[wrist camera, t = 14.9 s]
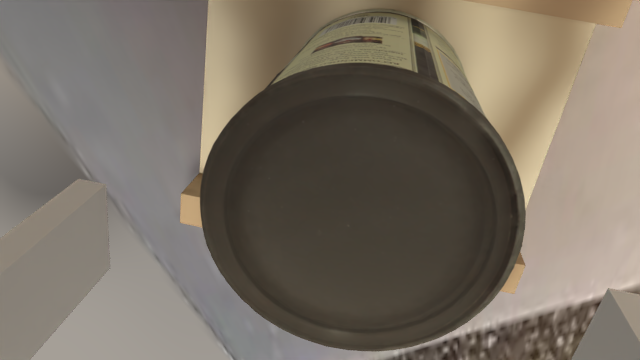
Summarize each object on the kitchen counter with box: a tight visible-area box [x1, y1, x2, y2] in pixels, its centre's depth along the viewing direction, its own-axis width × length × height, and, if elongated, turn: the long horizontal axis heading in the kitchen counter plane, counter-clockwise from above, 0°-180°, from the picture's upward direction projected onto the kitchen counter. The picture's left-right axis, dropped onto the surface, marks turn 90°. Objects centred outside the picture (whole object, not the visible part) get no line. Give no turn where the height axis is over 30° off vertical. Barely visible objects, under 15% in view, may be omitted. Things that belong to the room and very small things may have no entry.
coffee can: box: [200, 9, 526, 351], centre depth 22 cm, size 10×10×14 cm
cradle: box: [180, 0, 632, 294], centre depth 28 cm, size 20×20×4 cm
